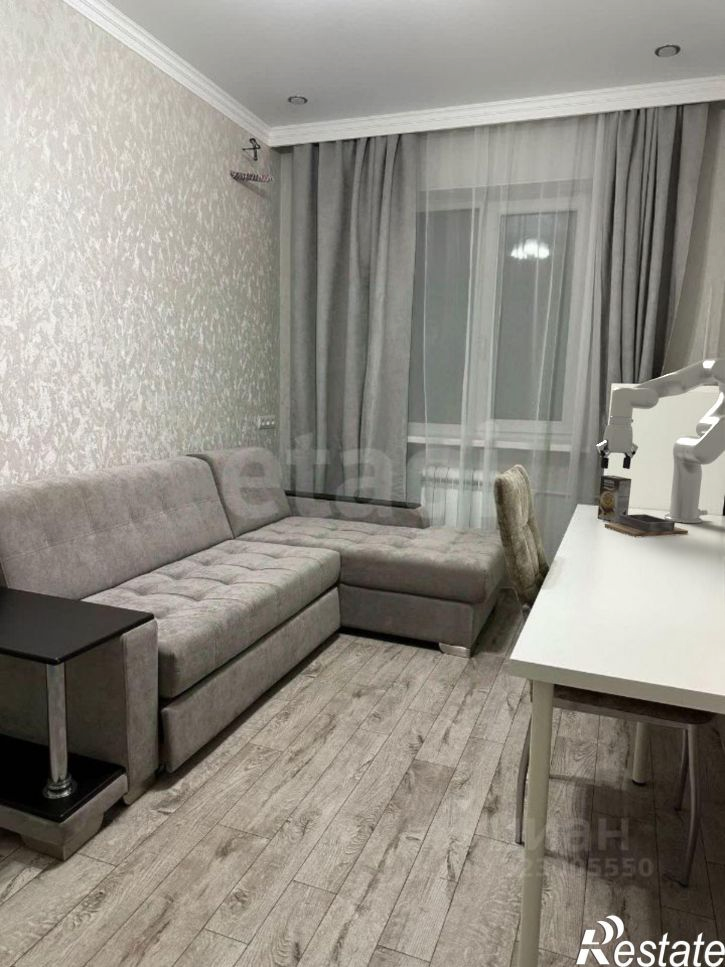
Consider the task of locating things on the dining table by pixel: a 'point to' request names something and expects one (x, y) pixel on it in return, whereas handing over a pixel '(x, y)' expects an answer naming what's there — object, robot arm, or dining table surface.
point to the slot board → (645, 526)
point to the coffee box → (614, 497)
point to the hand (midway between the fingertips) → (615, 468)
